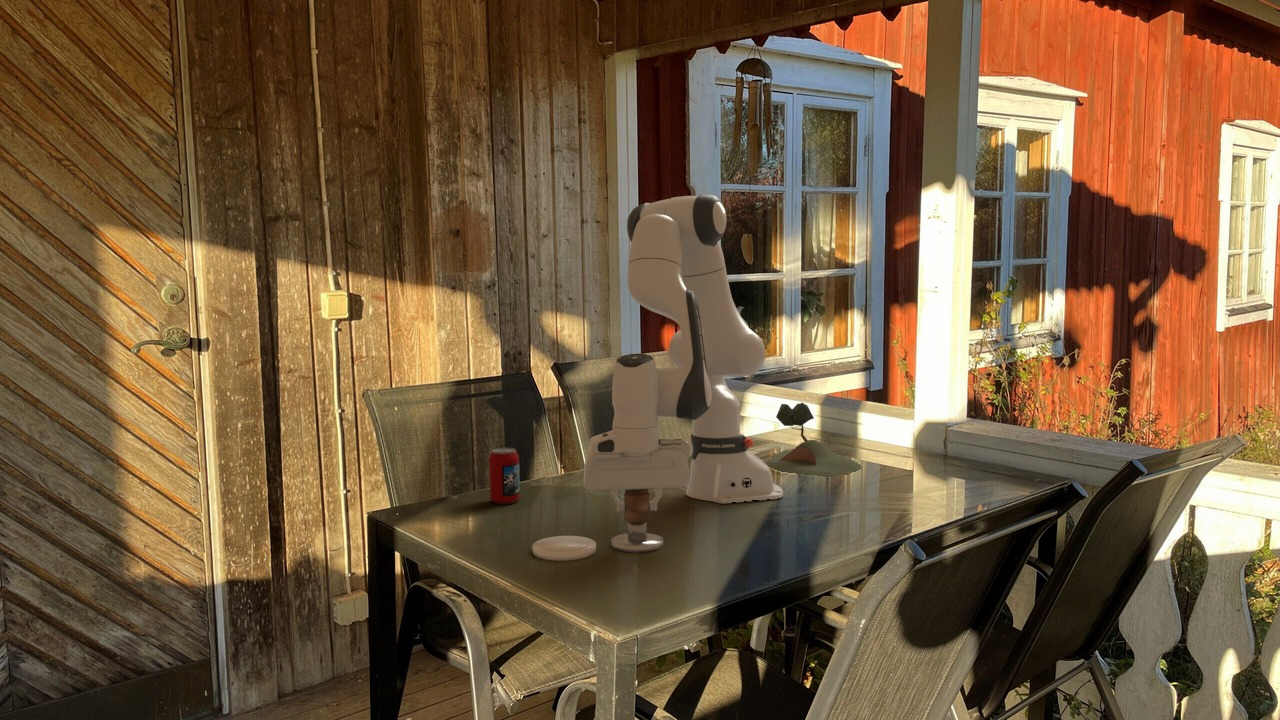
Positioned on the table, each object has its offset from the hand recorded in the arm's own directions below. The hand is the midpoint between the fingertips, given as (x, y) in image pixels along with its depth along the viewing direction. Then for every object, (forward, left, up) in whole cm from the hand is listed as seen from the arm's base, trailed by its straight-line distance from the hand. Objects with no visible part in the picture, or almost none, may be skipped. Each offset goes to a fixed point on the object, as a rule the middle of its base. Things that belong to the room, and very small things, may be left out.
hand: (636, 511), depth 183 cm
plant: (-52, -68, -7) cm, 86 cm away
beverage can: (+27, -38, -7) cm, 47 cm away
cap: (0, 0, -2) cm, 2 cm away
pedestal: (0, 0, -7) cm, 7 cm away
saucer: (+14, +2, -7) cm, 16 cm away
